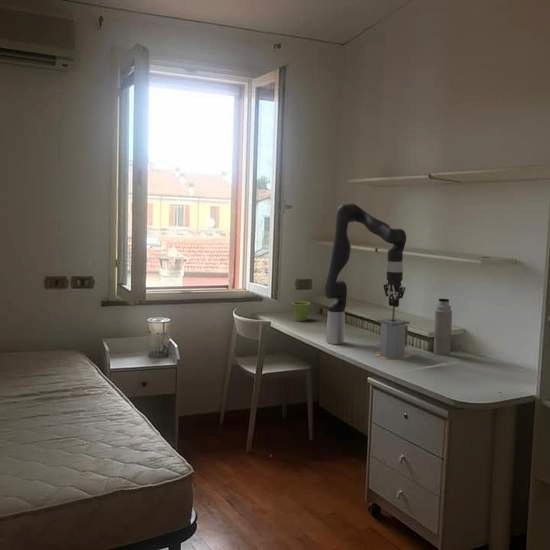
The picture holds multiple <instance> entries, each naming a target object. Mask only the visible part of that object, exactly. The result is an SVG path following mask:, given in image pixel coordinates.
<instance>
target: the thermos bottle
mask: <svg viewBox="0 0 550 550" xmlns="http://www.w3.org/2000/svg"><path fill="white" fill-rule="evenodd" d="M452 319H453V310H452V306H451V305H450V299H448V298H438V304H437V305H436V309H435V310H434V331H433V332H434V336H433V337H434V339H433V341H434V342H433V354H435V355H438V356H448V357H451V347H452V345H451V344H452V343H451V342H452V325H453V324H452V321H453V320H452Z"/></svg>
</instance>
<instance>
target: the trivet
mask: <svg viewBox="0 0 550 550" xmlns="http://www.w3.org/2000/svg"><path fill="white" fill-rule="evenodd" d="M373 356H374V357H375V358H377V359H383V360H388V361H390V360H393V361H401V360H402V361H403V360H404V361H405V360H408V359H410V358H411V359H412V355H411V354H409V353H406V352H404V357H402V358H386V357H383V356H380V351H376V352H375V353H373Z"/></svg>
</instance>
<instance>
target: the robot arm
mask: <svg viewBox="0 0 550 550" xmlns="http://www.w3.org/2000/svg"><path fill="white" fill-rule="evenodd" d="M335 218H336V219H335V230H334V231H335V232H334V240H333V245H332V250H331V258H330V263H329V268H328V274H327V278H326V279H325V283H324V284H325V285H324V295H325V297H326V298H327V299H328V300H329V299H331V300H332V299H335V300H334V301H333V302H331V303H330V304H328V305H327V317H326V318H327V319H326V320H327V324H326V326H325V327H326V329H325V332H326V333H325V335H326V336H325V342H326V343H327V344H331V345H342V344H344V343H345V327H346V325H345V324H346V320H345V319H346V306H347V299H348V298H347V296H348V295H347V294H348V288H347V284H346V282H345V281H344V280H337V279H338V276H339V275H340V273H341V271H342V270H343V269H344V268H345V266H346V265H347V264H348V262H349V260H350V255H351V249H352V247H351V243H350V239H349V237H348V226H349V223H354V222H356V223H360V224H362V225H364V226H365V228H366V229H367V230H368V231H369V232H371V233H372V234H374V235H376V236H378V237H380V238H381V239H382V240H383V241H385V242H386V243H388V244H390V245H391V244H392V248H390V249H388V251H387V261H386V263H387V264H386V281H387V283H386V284H385V283H384V284H383V291H384V294H385V297H387V298H388V306H389V307H393V303H390V300H391V296H394V298H395V299H394V307H395V308H399V306H400V299H404V298H403V297H404V295H405V291H406V286H403V285H402V281H403V278H404V277H403V272H404V269H403V268H404V266H403V265H404V263H403V259H404V258H403V257H404V256H403V254H404V250H405V245H406V243H407V235H406V232H405V230H404V229H402V228H391V227H390V225H389V224H387V223H386V222H385V221H382V220H379V219H377V218H376V217H374V216H372V215H371V214H369V213H368V212H366V211H365V210H364V209H362V208H361V207H360V206H358V205H357V204H355V203H347V204H346V203H345V204H341V205H339V206H338V208H337V211H336V216H335Z"/></svg>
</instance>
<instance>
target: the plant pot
mask: <svg viewBox="0 0 550 550" xmlns="http://www.w3.org/2000/svg"><path fill="white" fill-rule="evenodd" d="M291 304H292V309H293V314H294V321H296V322H302V321H303V322H305V321H307V318H308V312H309V308H310V307H309V306H310V302H308V301H294V302H291Z"/></svg>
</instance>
